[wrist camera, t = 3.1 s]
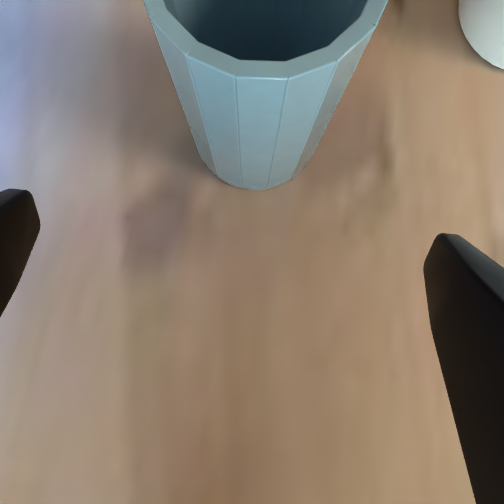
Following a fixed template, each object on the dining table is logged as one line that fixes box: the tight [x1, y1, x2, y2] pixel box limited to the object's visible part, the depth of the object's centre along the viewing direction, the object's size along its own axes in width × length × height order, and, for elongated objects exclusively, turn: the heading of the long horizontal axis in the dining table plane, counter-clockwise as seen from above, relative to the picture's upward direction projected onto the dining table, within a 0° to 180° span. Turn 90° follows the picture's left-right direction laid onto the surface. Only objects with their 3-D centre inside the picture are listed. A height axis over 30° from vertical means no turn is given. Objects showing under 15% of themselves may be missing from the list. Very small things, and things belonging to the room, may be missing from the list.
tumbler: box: [143, 0, 388, 190], centre depth 17 cm, size 7×7×12 cm
